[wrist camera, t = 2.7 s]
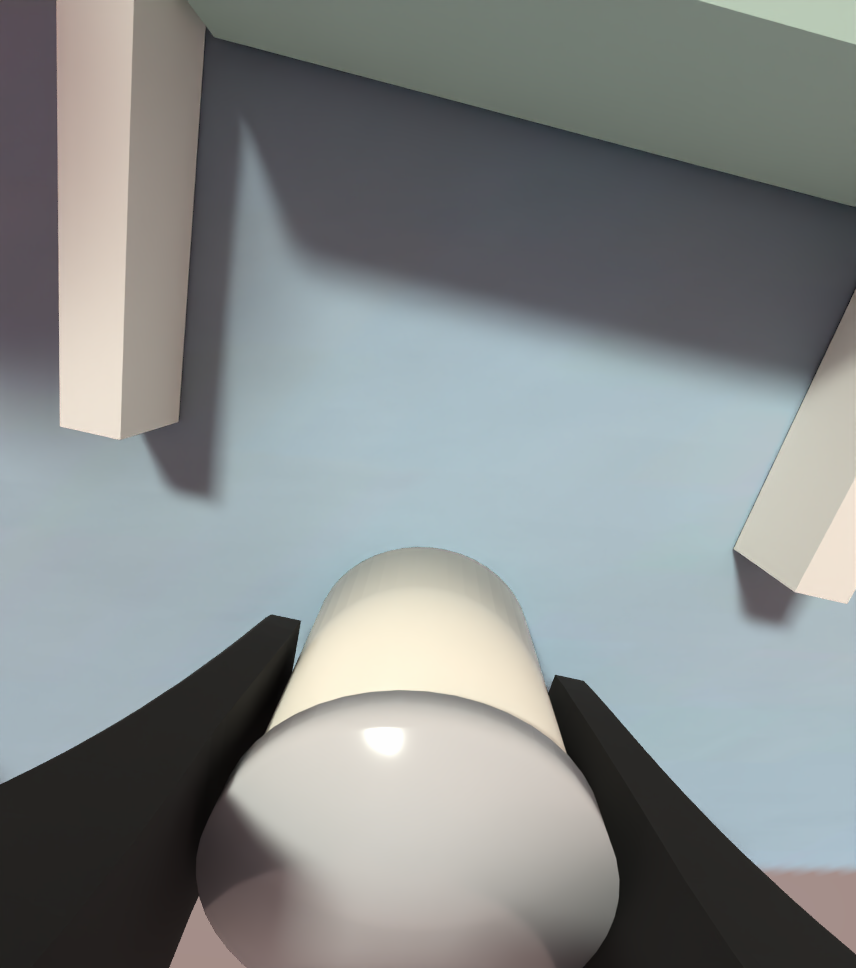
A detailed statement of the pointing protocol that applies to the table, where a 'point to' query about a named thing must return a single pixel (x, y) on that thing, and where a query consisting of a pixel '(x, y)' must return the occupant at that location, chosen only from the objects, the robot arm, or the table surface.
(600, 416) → the table surface
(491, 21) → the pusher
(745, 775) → the table surface
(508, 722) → the jar
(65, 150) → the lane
